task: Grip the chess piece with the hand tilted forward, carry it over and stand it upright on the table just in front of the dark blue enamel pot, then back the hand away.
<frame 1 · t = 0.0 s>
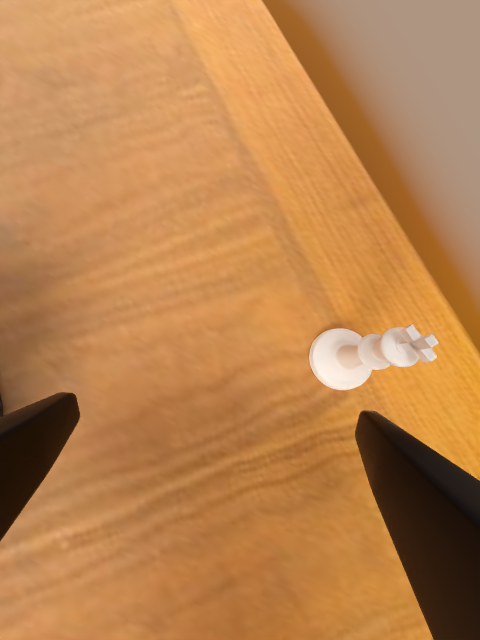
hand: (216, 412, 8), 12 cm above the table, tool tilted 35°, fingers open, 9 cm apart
chess piece: (338, 358, 20), on the table
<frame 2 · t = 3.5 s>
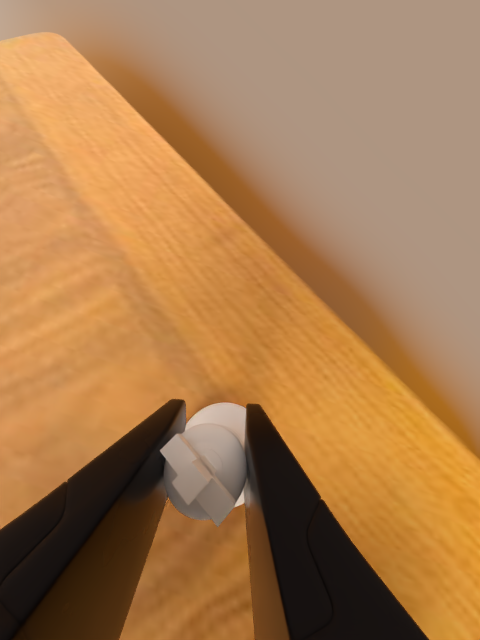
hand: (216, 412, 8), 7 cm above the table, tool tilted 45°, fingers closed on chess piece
chess piece: (223, 450, 13), on the table, touching gripper
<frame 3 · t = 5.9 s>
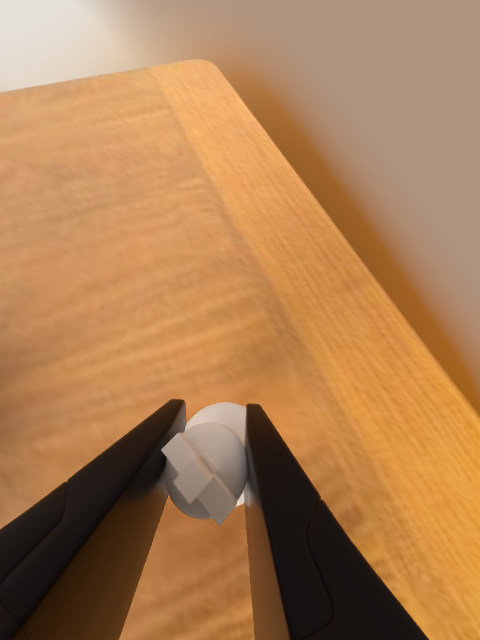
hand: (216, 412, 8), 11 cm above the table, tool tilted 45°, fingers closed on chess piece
chess piece: (224, 450, 13), point 4 cm above the table, touching gripper
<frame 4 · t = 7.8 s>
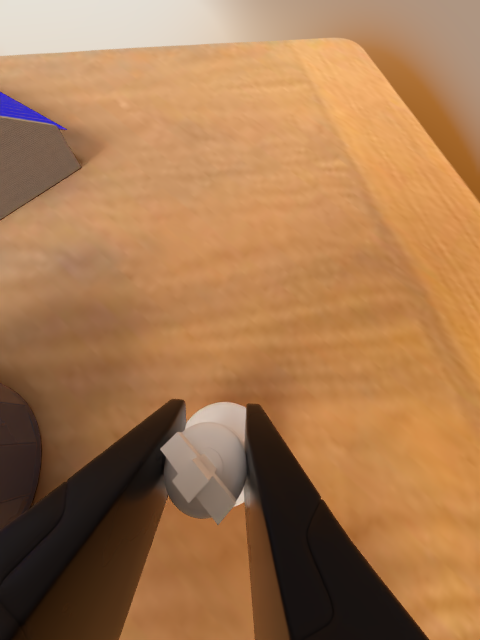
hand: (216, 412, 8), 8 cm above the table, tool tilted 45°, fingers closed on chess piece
chess piece: (223, 450, 13), point 2 cm above the table, touching gripper
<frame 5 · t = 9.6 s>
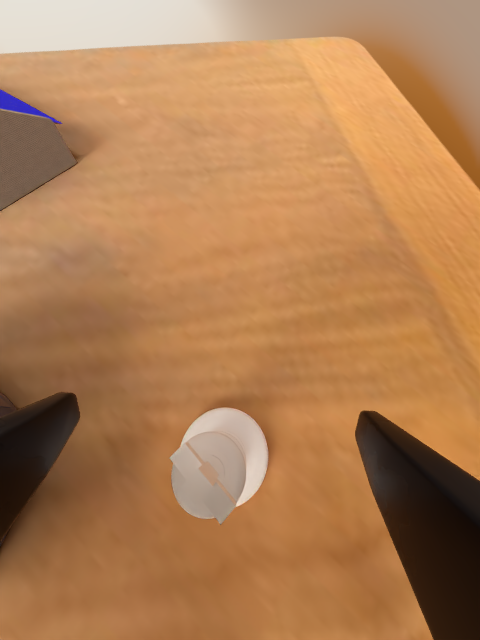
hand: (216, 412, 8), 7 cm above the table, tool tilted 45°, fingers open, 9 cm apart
chess piece: (224, 453, 14), on the table
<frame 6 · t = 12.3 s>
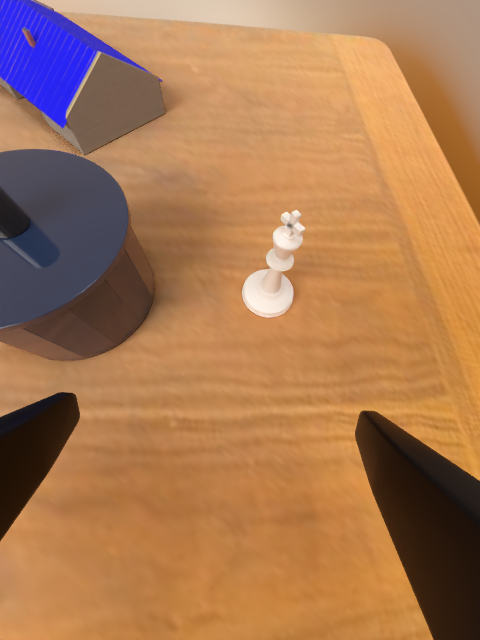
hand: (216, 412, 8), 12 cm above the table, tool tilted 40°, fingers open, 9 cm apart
pot lid: (16, 230, 15), point 8 cm above the table, touching pot
pot: (83, 292, 23), on the table
toy house: (76, 95, 34), on the table
chess piece: (267, 295, 24), on the table
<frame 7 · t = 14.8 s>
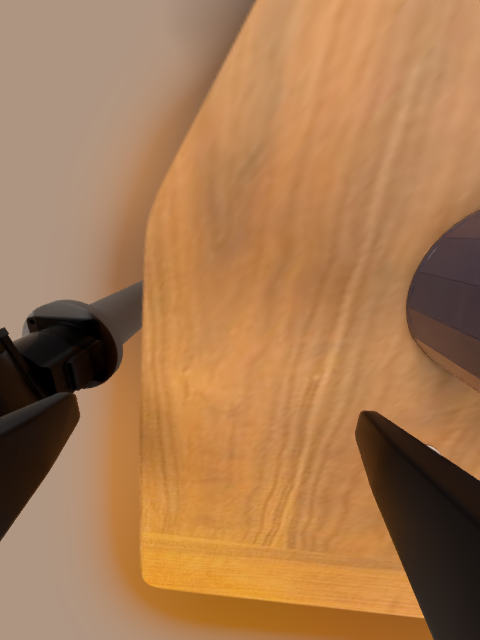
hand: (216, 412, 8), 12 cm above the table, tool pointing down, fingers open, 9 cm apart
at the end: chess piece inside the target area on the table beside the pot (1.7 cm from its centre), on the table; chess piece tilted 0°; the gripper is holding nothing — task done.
